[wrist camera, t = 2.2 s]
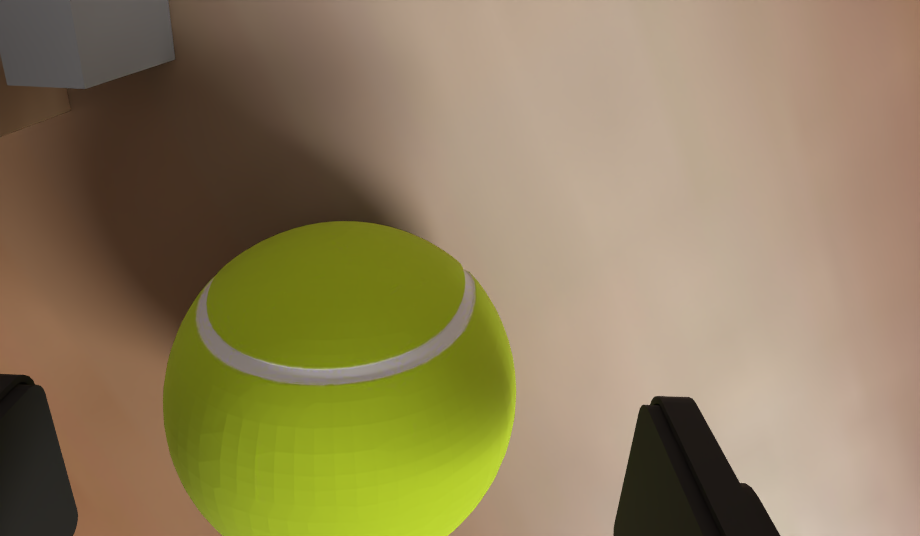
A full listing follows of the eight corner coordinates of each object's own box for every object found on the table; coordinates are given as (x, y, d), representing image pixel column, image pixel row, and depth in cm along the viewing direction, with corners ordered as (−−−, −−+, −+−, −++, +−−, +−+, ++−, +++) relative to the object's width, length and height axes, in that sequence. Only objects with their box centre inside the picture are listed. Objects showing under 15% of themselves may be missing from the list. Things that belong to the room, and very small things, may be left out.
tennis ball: (492, 420, 18) (525, 658, 12) (240, 422, 18) (136, 666, 12) (506, 180, 16) (557, 325, 9) (207, 176, 15) (44, 323, 9)
